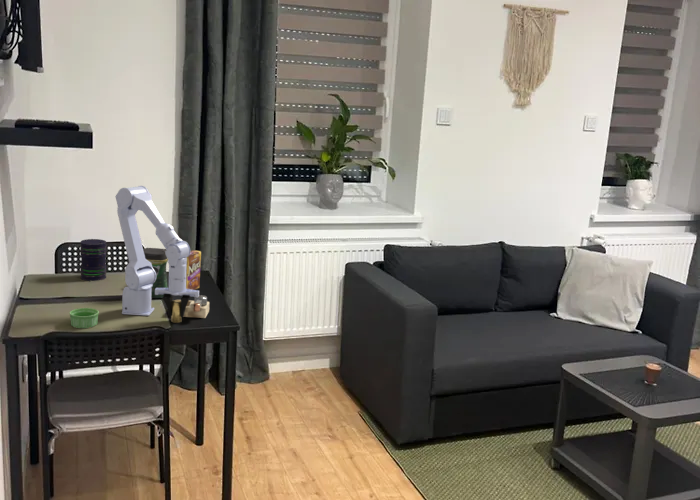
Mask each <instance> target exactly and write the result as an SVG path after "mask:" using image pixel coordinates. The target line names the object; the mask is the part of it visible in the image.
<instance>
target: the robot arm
mask: <svg viewBox="0 0 700 500" xmlns="http://www.w3.org/2000/svg"><path fill="white" fill-rule="evenodd" d="M152 197H153V196H152V194H151V193H150V192H149V189H148V188H147V187H146V186H145V185H138V186H131V187H122V188H119V190H118V191H117V193H116V194H115V200H116V205H117V208H116V209H117V210H116V212H117V216H118V221H119V224H120V230H121V234H122V237H123V242H124V245H125V246H124V247H125V250H126V255H127V258H128V264H127V265H126V266H125V268H124V272H125V276H124V280H125V284H126V286H125V287H124V288H123V289H122V299H121V301H122V303H121V304H122V305H121V308H122V310H121V311H122V312H121V314H122V315H130V316H131V315H132V316H147V317H148V316H151V314H152V312H153V311H154V310H155V307H152V298H151V291H152V286H153V283H154V282H155V281H156V272H155V270H154V269H153V267H152V264H151V262H149V261H148V260H146V259H145V255H144V251H143V250H144V248H143V243H142V240H141V239H142V238H141V234H140V231H139V227H138V222H137V219H136V214H137V213H138V211H141V212H143V214H144V216H145V217H146V218H147V219H148V220H149V221H150V223H151V224H152V225H153V226H154V228H155V235H156V236H157V238H158V239H159V241H160V242H161V244H162V245H163V247H164V249H166V250H167V251H165V253H166V256H167V258H168V262H167V264H168V288H156V289H155V295H158V294H162V295H164V296H163V298H162V301H164V303H165V306H166V308H167V313H168V317H171V313H172V301H173V300H174V298H173V297H174V296H177V297H178V296H180V300H181V317H182V318H184V317H183V316H184V313H185V309H186V306H187V303H188V301H189V300H191V297H193V298H194V297H199V295H200V290H198V289H195V290H191V289H186V267H187V258H186V257H188V256H189V255H190V252H191V251H192V250H191V247H190V245H189V243H188V242H187V241H185V240H183V239H182V238H180V237H179V235H178V234H177V233H176V231H175V229H174V226H173V225H171V223H167V222H165V221H164V219H163V217H162V216H161V214H160V212H159V211H158V208H157V207H156V206H155V204H154V202H153V198H152Z"/></svg>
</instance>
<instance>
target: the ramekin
mask: <svg viewBox="0 0 700 500" xmlns="http://www.w3.org/2000/svg"><path fill="white" fill-rule="evenodd" d="M99 314H100V311H99V310H98V309H96V308H92V307H81V308H75V309H72V310H70V311H69V316H70V325H71V327H73V328H75V327H76V328H75V329H90V328H89V327H91V328H94V327H96V326H97V325H98V320H99ZM95 325H96V326H95ZM93 326H94V327H93Z"/></svg>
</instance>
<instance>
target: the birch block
mask: <svg viewBox="0 0 700 500" xmlns="http://www.w3.org/2000/svg"><path fill="white" fill-rule="evenodd" d="M193 305H194V300H191V299H189V301H188V303H187V306H186V309H185V313H184V316H183V317H182V318H184V317H185V318H198V319H199V318H201V319H206V318H207V316H208V314H209V313H210V301H207V305H206V306H201V308H200V311H199V312H195V311H193Z"/></svg>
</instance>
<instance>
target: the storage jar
mask: <svg viewBox="0 0 700 500" xmlns="http://www.w3.org/2000/svg"><path fill="white" fill-rule="evenodd" d="M79 251H80V257H81V258H80V262H81V264H80V269H79V270H80V271H79V272H80V279H81V280H83V281H89V282H98V281H103V280H105V279H107V264H106V261H107V260H106V259H107V258H106V256H107V241H106V240H103V239H100V238H99V239H98V238H97V239H96V238H88V239H87V238H86V239H83V240H81V241H80V250H79Z"/></svg>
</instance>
